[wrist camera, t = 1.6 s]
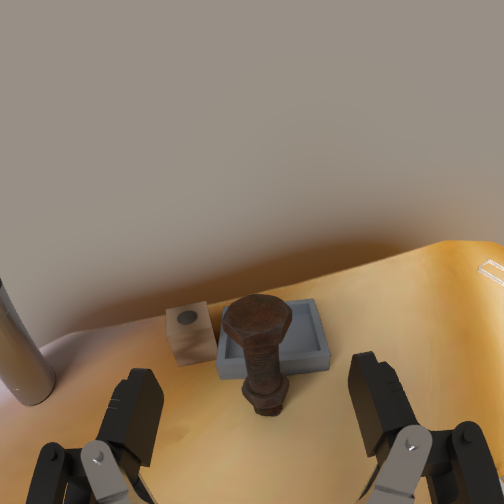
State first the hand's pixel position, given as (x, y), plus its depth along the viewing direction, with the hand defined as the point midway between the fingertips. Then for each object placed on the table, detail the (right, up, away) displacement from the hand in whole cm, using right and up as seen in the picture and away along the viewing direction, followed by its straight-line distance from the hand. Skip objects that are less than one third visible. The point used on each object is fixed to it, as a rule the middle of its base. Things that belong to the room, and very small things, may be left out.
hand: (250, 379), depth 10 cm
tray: (+3, -8, +28) cm, 30 cm away
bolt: (+2, -13, +19) cm, 23 cm away
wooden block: (-8, -9, +29) cm, 31 cm away
